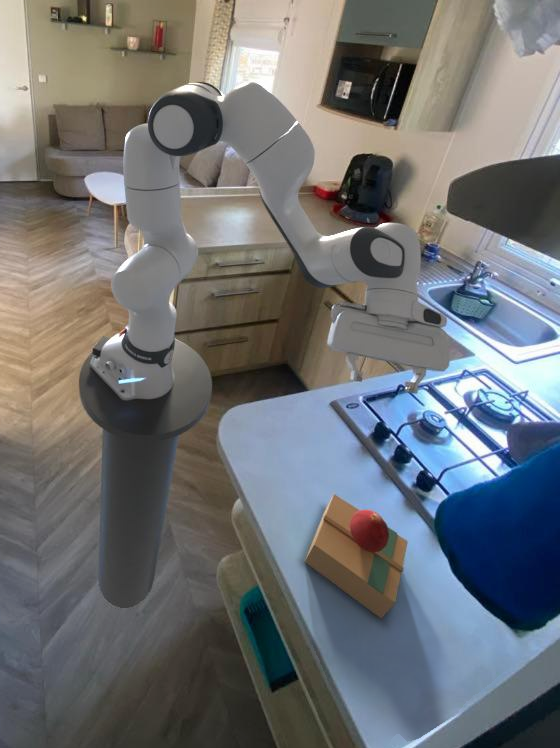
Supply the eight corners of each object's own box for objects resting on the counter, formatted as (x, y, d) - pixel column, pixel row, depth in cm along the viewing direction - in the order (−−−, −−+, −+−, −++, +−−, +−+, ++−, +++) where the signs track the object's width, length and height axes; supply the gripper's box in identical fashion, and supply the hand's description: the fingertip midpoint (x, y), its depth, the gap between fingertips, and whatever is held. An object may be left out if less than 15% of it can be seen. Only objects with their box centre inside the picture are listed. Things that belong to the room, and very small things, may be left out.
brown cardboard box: (303, 562, 73) (313, 543, 70) (324, 510, 82) (333, 492, 78) (381, 620, 67) (396, 603, 64) (395, 558, 76) (409, 540, 72)
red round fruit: (375, 528, 73) (392, 502, 69) (383, 565, 68) (402, 540, 64) (341, 520, 74) (356, 494, 70) (347, 556, 69) (363, 530, 65)
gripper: (338, 296, 76) (329, 374, 72) (456, 319, 74) (453, 400, 70) (327, 301, 82) (318, 374, 78) (437, 323, 80) (432, 398, 76)
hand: (383, 386), depth 74 cm, fingers open, 8 cm apart
